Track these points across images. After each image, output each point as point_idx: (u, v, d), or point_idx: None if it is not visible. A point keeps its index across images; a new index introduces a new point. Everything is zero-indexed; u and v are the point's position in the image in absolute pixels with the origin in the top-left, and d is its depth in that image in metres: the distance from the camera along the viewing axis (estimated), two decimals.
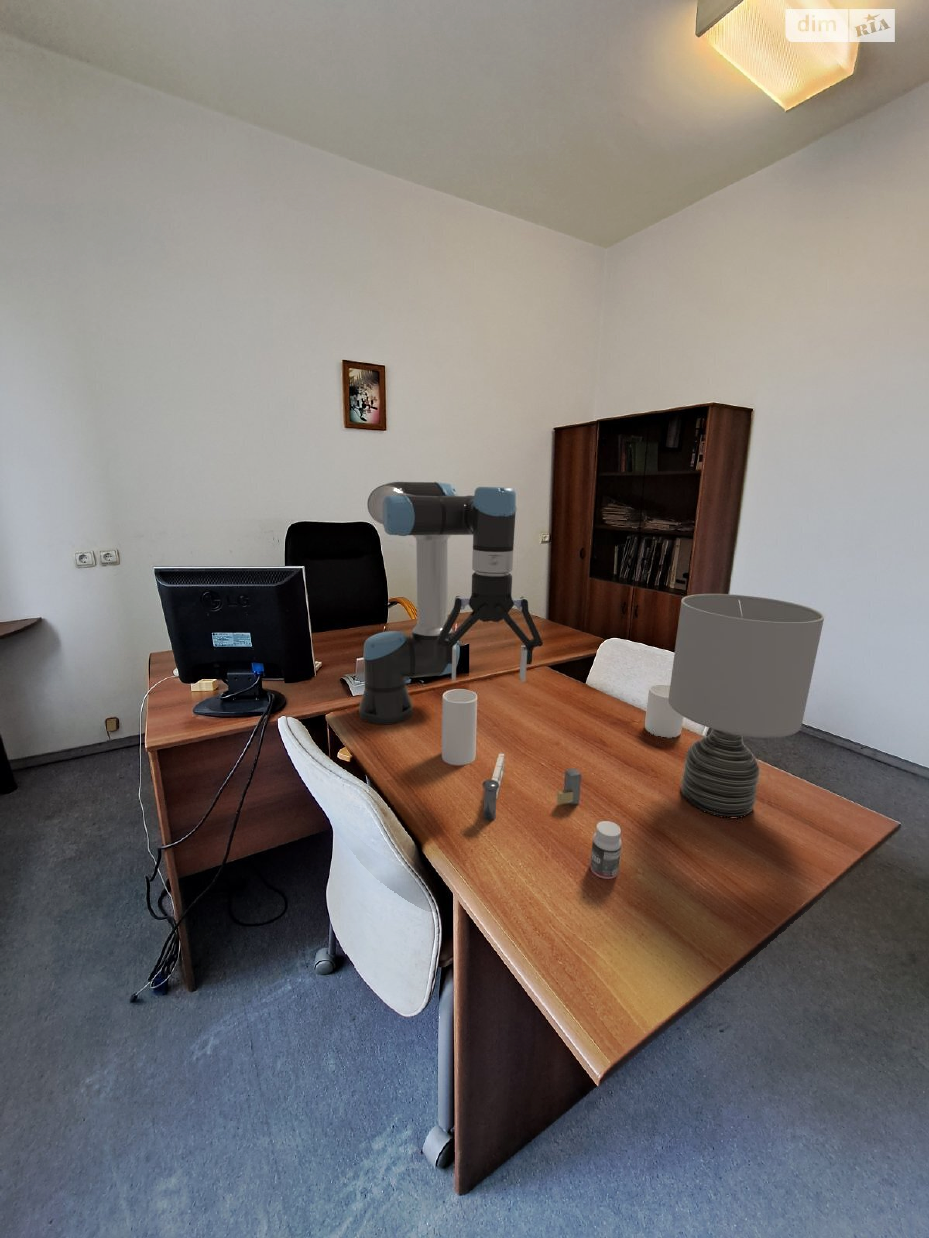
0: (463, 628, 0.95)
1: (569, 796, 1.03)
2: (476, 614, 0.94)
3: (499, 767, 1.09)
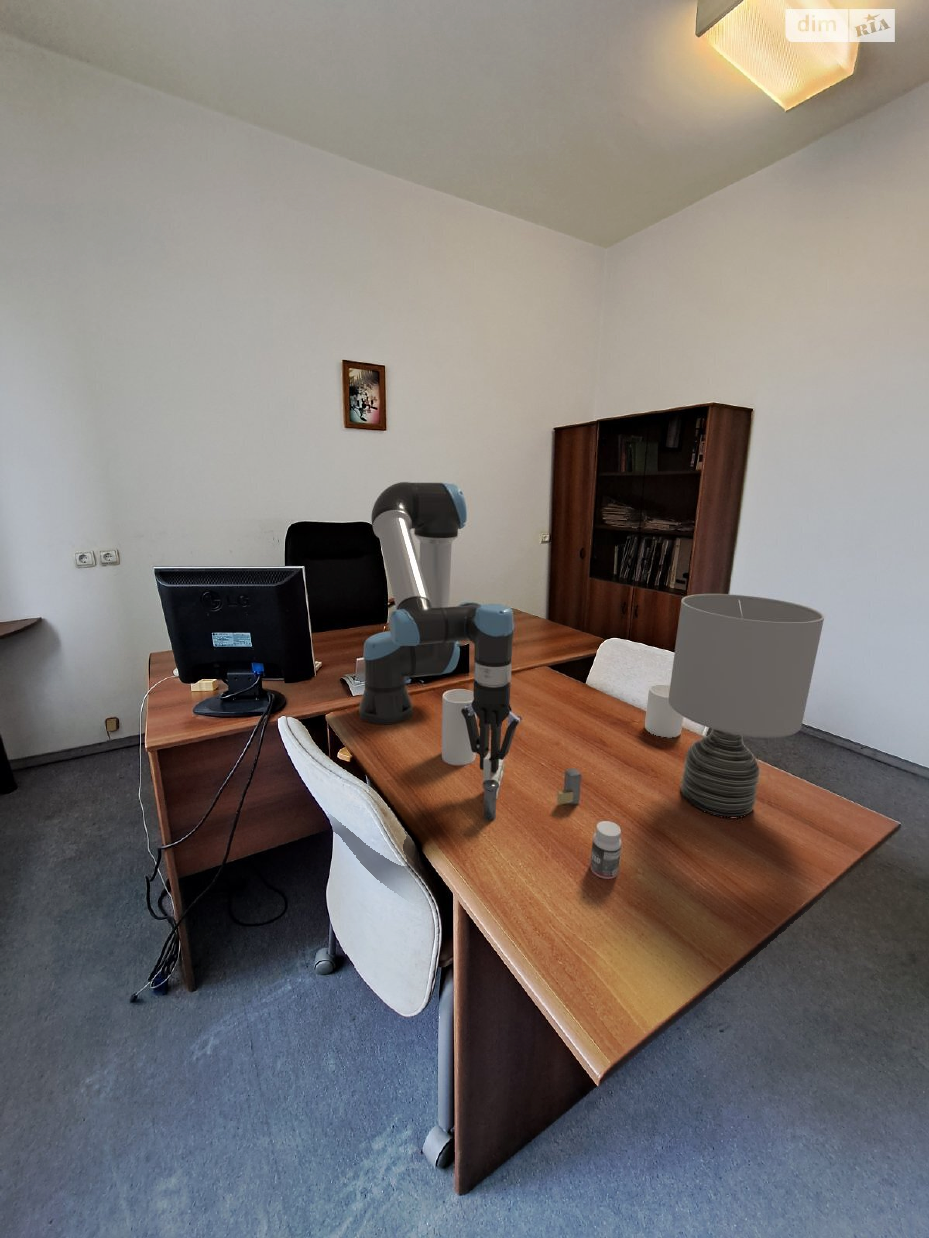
0: (481, 735, 1.05)
1: (569, 796, 1.03)
2: (480, 720, 1.03)
3: (499, 767, 1.09)
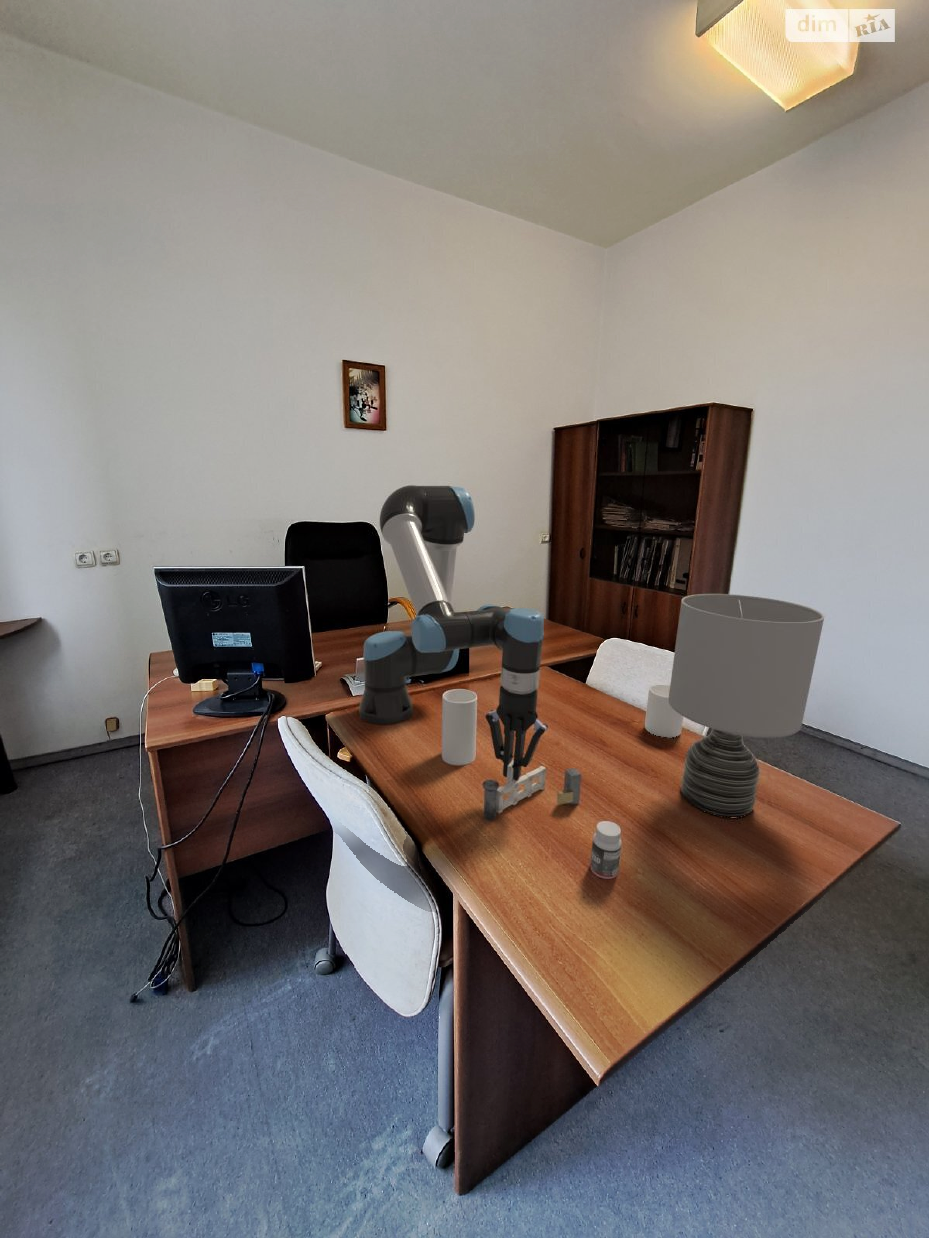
0: (505, 742, 1.02)
1: (569, 796, 1.03)
2: (505, 726, 1.01)
3: (527, 777, 1.05)
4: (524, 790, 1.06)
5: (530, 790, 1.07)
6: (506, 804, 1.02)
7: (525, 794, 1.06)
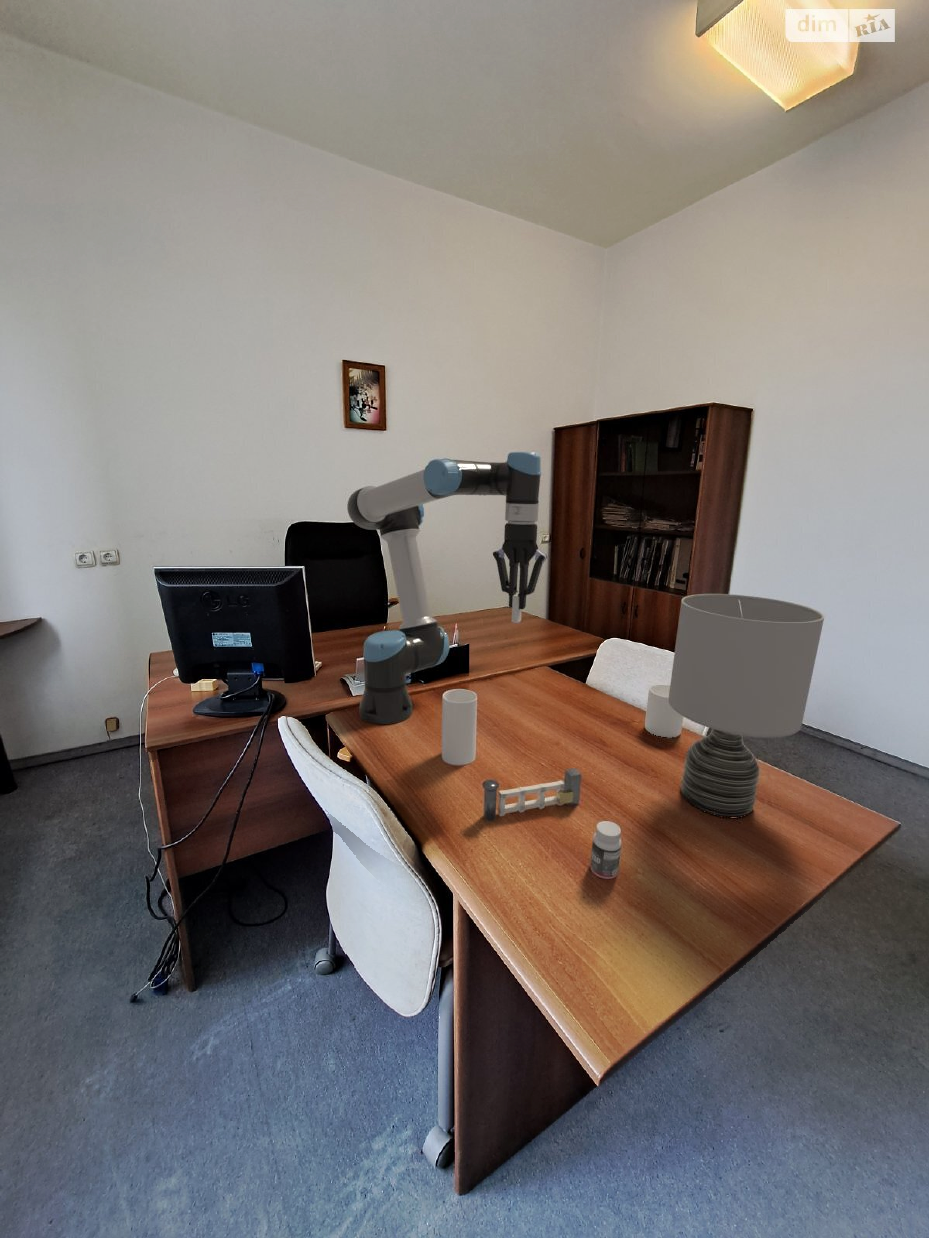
0: (510, 574, 1.18)
1: (569, 796, 1.03)
2: (510, 559, 1.17)
3: (538, 787, 1.02)
4: (536, 800, 1.03)
5: (542, 802, 1.03)
6: (510, 809, 1.01)
7: (535, 804, 1.02)
